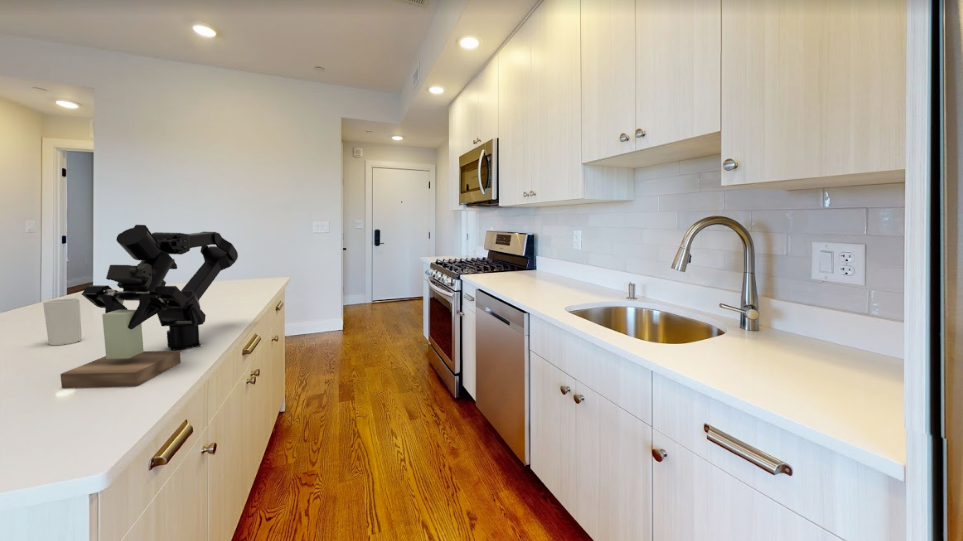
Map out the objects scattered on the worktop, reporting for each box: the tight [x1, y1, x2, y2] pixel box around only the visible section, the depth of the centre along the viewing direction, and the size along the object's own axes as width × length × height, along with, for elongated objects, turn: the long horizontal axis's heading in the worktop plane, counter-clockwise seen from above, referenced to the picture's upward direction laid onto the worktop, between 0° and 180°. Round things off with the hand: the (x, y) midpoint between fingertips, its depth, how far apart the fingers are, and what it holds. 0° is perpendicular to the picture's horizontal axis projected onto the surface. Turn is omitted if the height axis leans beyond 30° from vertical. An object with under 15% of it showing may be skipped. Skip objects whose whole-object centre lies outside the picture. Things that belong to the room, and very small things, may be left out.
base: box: [59, 350, 182, 389], centre depth 85 cm, size 14×14×3 cm
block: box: [101, 309, 145, 359], centre depth 84 cm, size 4×4×10 cm
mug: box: [42, 297, 83, 346], centre depth 106 cm, size 10×7×12 cm, turn 50°
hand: (117, 328), depth 83 cm, fingers closed on block, 4 cm apart
